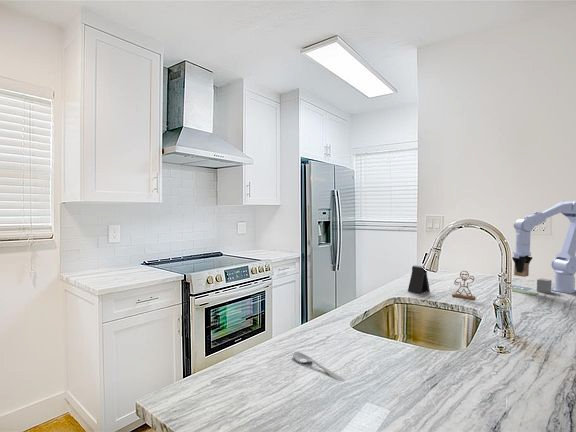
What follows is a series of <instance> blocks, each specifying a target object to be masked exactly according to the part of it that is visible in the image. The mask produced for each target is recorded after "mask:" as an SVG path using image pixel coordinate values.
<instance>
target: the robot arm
mask: <svg viewBox="0 0 576 432" xmlns="http://www.w3.org/2000/svg"><path fill="white" fill-rule="evenodd" d="M558 214H561V215H563V216H564V217H565V218H567V219H568V220H569V221H570V222H569V225H568V228H567V230H566V234H565V238H564V241H563V245H562V247H561V250H560V252H558V253H557V254H556V255H555V257H554V258H553V260H552V261H551V264H550V267H551V268H552V270H553V271H554V287H553V288H551V292H552V291H554V292H559V293H565V294H570V295H571V294H574V293H576V288H575V287H576V286H575V285H576V277H575V275H576V201H573V200H572V201H571V200H570V201H569V200H562V201H559V202H558V203H556V204H555V205H553V206H551V207H550V208H547V209H546V210H544V211H533V212H532V214H529V215H525V216H524V217H523V218H518V219H516V221H515V223H514V224H513V228H514V229H515V233H516V234H515V236H516V237H515V251H512V254H513V256H512V257H511V258H512V261H513V263H514V267H515V266H516V270H517V272H520V273H522V272H523V268H524V264H525V263H529V264H530V263H531V262H532V260H533V257H532V252H531V231H533V230H534V228H536V227H538V226H540V225H542V224H544V223H546V221H547V219H548V218H551V217H553V216H555V215H558Z"/></svg>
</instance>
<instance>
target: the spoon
mask: <svg viewBox="0 0 576 432" xmlns="http://www.w3.org/2000/svg"><path fill="white" fill-rule="evenodd" d="M292 355H293V356H292V357H293V358H294V360H295V361H296V362H298V363H301V364H305V363H307V364H308V363H313V364H314V365H316V366H317V367H319V368H321V369H322V370H323V371H324V372H326V374H328V375H329V376H330V377H331V378H333V379H334V380H336V381H338V382H343V383H344V382H345V378H343V377H342V376H340V375H339V374H337V373H335V372H334V371H332V370H330V369H328V368H327V367H325V366H324V365H321V364H320V363H318V361H316V360H315V359H313V358H312V357H310V356H308V355H306V354H304V353H302V352H300V351H294V352H293V354H292ZM302 360H306V361H302Z"/></svg>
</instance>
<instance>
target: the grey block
mask: <svg viewBox="0 0 576 432" xmlns="http://www.w3.org/2000/svg"><path fill="white" fill-rule="evenodd" d="M551 289H552V280H551V279H547V278H538V279H536V293H544V294H551V293H552V290H551Z"/></svg>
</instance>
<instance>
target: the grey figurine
mask: <svg viewBox="0 0 576 432" xmlns="http://www.w3.org/2000/svg"><path fill="white" fill-rule="evenodd" d="M459 279H461V281H459V282H458V281H457V280H459ZM467 280H472V281H471V282H467ZM474 281H475V276H474V275H470V274H469V272H468V271H466V270H461V272H460V273H459V277H458V278H456V279H455V280H454V283H453V284H454V285H455V286H458V285H459V287H458V289H457V290H456V292H454V293H453V294H452V296H451V297H452V298H459V299H465V300H471V301H475V300H476V295H473V294H472V292H471V290H470V289H469V284H472V283H473V282H474ZM462 282H463V284H462ZM465 283H466V284H465ZM461 287H462V288H463V289H462V291H459V290H460V289H461ZM465 288H466V289H467V291H468V292H467V291H466V290H465ZM463 291H464V293H465V294H464V293H463Z"/></svg>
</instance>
